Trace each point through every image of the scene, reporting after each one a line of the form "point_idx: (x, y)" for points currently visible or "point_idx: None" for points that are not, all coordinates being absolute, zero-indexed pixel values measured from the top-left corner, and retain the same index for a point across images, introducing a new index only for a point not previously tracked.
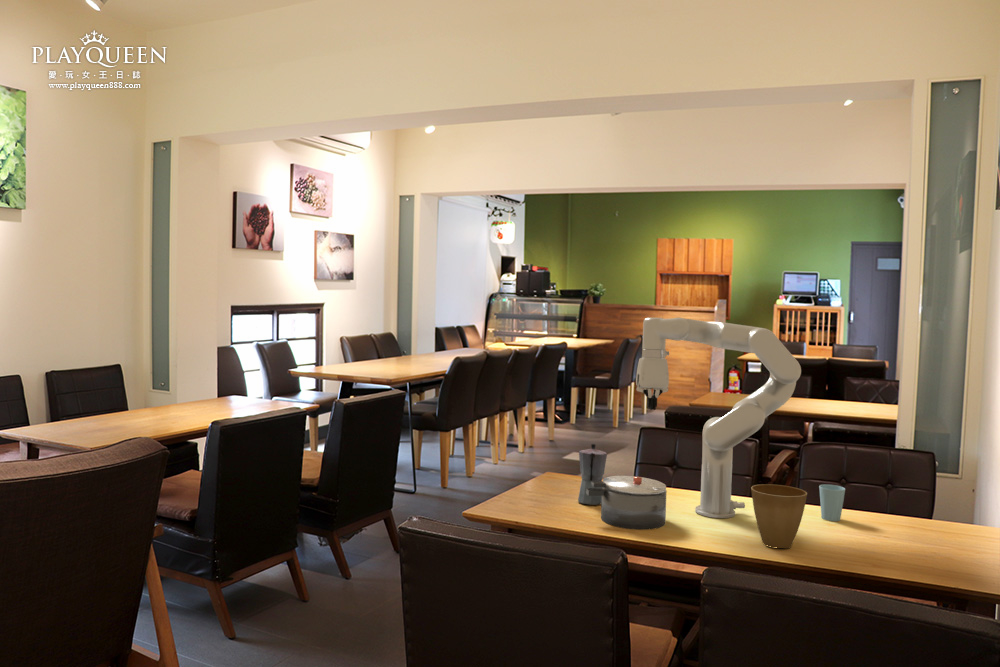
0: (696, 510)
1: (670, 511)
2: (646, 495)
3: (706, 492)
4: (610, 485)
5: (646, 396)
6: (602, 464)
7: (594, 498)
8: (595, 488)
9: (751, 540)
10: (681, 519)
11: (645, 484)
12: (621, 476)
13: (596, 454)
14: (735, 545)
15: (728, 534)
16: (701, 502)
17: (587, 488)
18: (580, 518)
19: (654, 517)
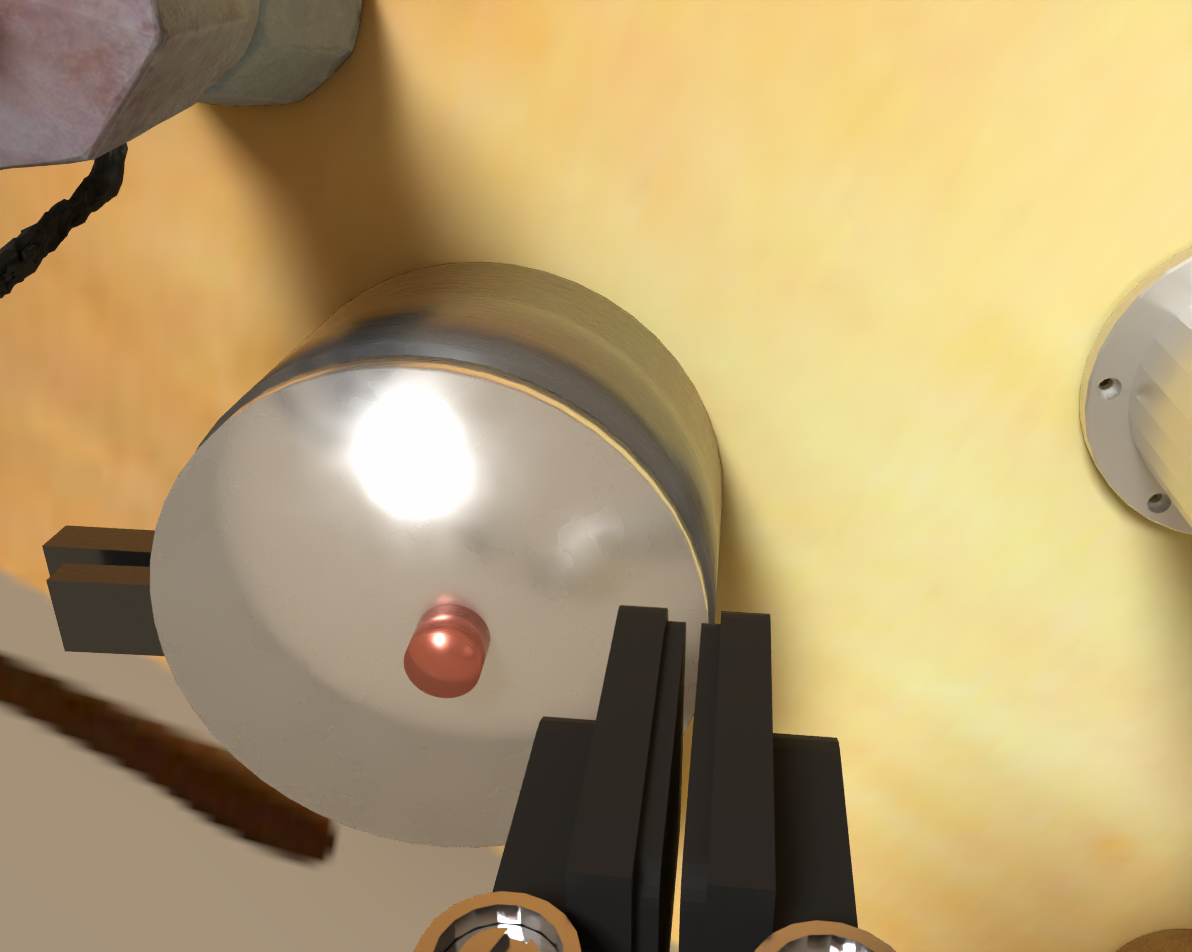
0: (1088, 376)
1: (881, 299)
2: None
3: (1189, 519)
4: (196, 713)
5: (456, 936)
6: (162, 107)
7: (241, 101)
8: (116, 559)
9: (1084, 901)
10: (863, 504)
11: (515, 675)
12: (358, 404)
13: (4, 167)
14: (931, 946)
15: (1011, 804)
16: (1152, 407)
17: (51, 554)
18: (134, 417)
19: None
